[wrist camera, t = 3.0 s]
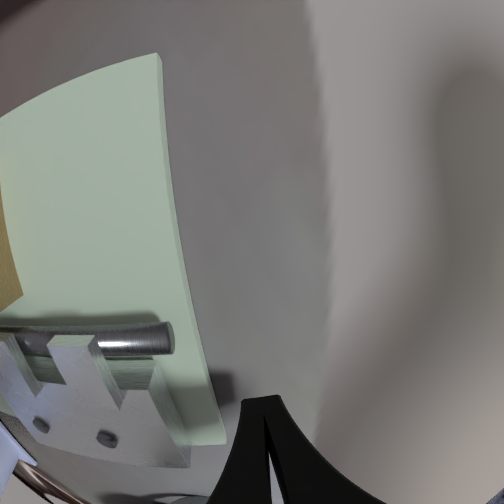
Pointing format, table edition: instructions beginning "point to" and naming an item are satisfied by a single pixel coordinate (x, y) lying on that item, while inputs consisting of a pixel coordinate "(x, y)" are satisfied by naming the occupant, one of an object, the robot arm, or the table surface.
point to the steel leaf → (94, 403)
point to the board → (103, 223)
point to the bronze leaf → (108, 336)
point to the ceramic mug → (192, 500)
